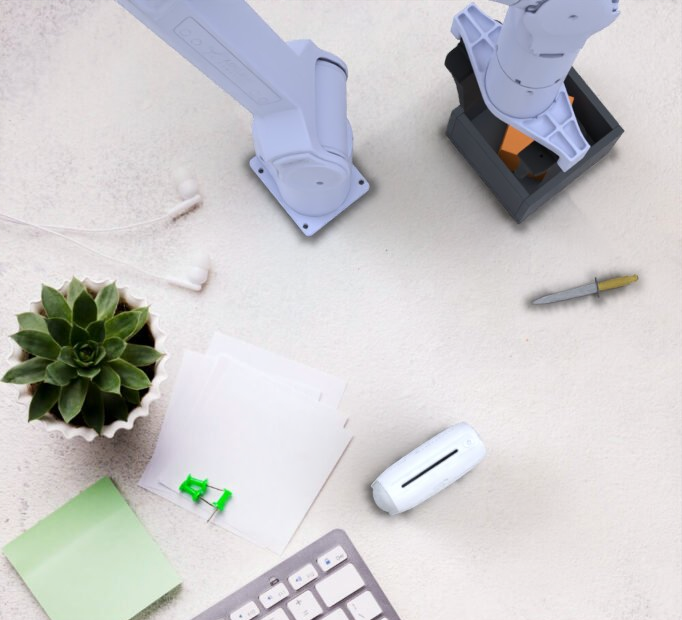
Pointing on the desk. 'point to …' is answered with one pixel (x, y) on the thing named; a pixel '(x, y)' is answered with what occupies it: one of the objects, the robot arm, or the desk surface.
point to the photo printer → (428, 469)
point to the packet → (516, 148)
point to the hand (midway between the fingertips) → (498, 136)
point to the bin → (530, 194)
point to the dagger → (588, 289)
